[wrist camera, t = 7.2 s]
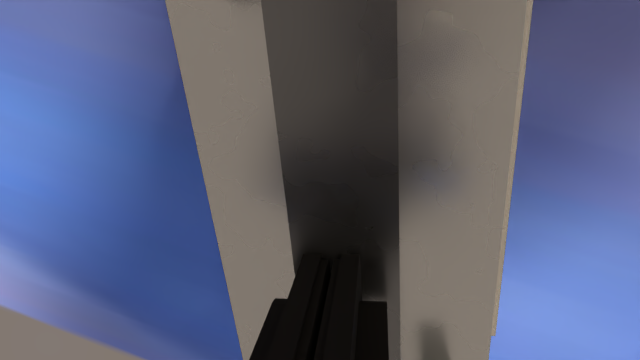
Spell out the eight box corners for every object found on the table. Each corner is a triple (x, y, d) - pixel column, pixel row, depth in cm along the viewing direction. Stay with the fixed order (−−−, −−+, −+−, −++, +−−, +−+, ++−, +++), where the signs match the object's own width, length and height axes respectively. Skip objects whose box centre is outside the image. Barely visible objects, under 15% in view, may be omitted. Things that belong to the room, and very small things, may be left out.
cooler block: (531, -133, 12) (737, -359, 5) (486, 313, 18) (549, 482, 11) (187, -79, 14) (-3, -183, 7) (257, 304, 20) (194, 442, 14)
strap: (398, -93, 8) (401, -113, 7) (403, 407, 13) (404, 437, 12) (259, -72, 9) (243, -88, 8) (315, 400, 14) (309, 428, 13)
